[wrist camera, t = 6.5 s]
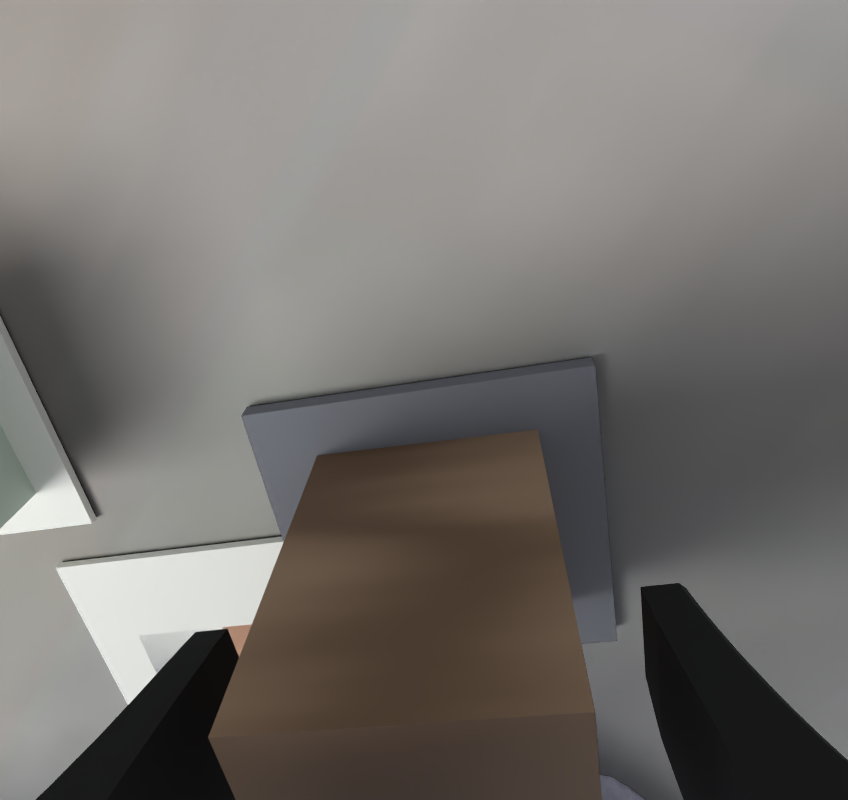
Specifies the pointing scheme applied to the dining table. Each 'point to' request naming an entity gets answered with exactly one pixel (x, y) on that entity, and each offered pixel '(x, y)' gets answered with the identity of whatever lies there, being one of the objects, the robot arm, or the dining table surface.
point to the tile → (37, 452)
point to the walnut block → (416, 638)
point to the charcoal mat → (454, 419)
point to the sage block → (12, 482)
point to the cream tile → (167, 601)
